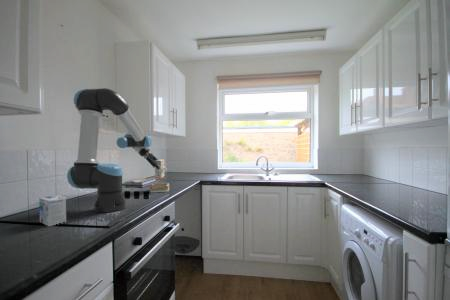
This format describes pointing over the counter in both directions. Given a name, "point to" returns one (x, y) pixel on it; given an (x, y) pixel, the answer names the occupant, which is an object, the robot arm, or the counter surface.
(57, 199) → the light bulb box
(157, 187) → the dock
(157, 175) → the supplement box
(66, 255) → the counter surface
